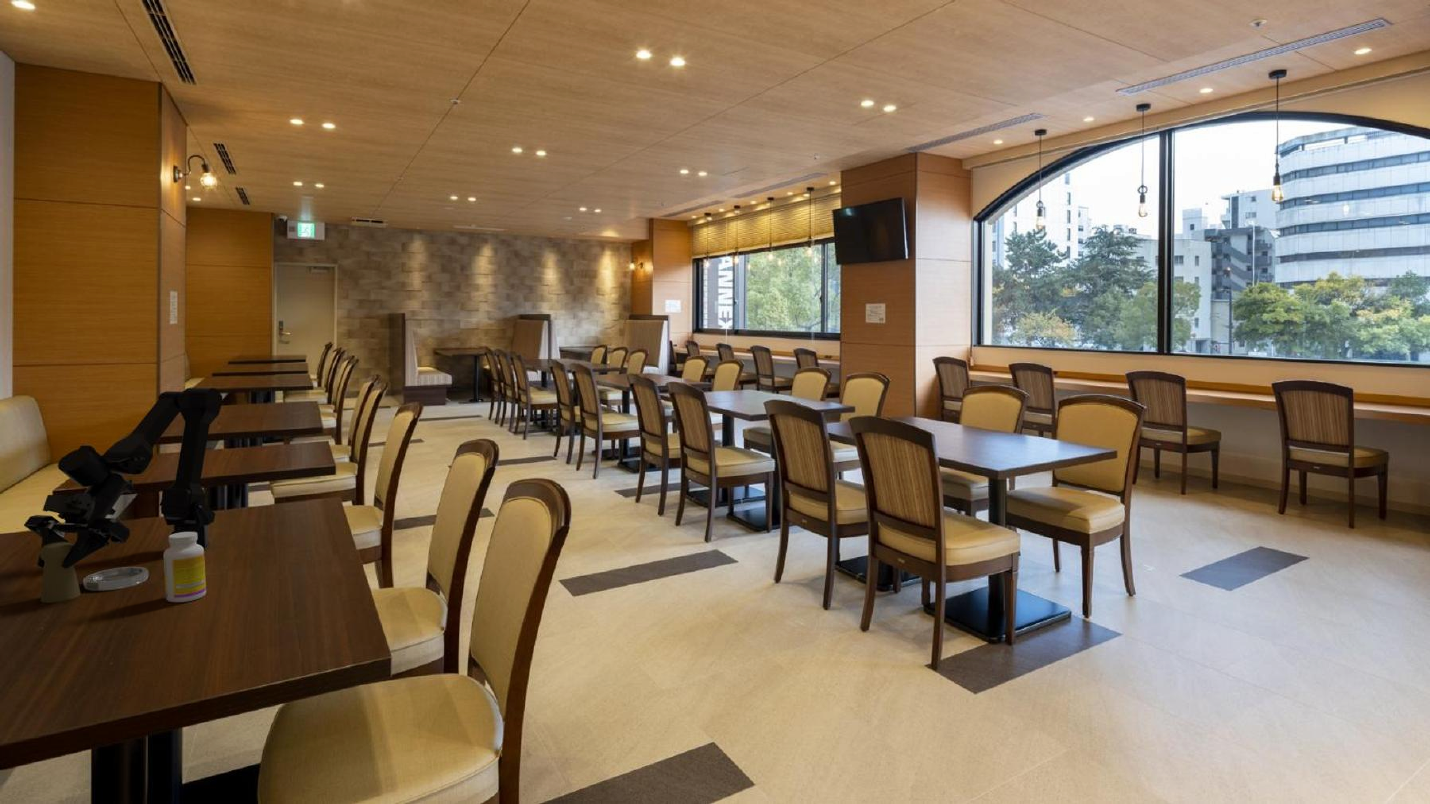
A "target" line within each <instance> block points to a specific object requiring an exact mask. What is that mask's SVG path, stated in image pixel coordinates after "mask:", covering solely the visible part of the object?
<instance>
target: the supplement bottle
mask: <svg viewBox="0 0 1430 804" xmlns="http://www.w3.org/2000/svg"><path fill="white" fill-rule="evenodd" d="M196 541H197V533H196V532H181V533H175V534H172V535H171V534H169V536H168V543H169V547H168V548H167V549H165V550H164V552H163V569H164V571H163V572H164V589H165V599H166V600H167V601H168V602H170V603H185V602H186V603H187V602H191V601H195V600H198V599H201V598H203V597H204V596H205V595H206V593H207V581H206V579H207V577H206V564H205V561H206V560H205V550H204V549H203V547H202V546H201V545H198V544H196Z"/></svg>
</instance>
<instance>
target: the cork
mask: <svg viewBox="0 0 1430 804" xmlns="http://www.w3.org/2000/svg"><path fill="white" fill-rule="evenodd" d="M73 546H74V544H73V543H72V542H70V541H69V542H55V543H50V544H47V545H45V546H43V547H42V549H41V548H40V550H41V551H39V555H40V556H41V559H42V560H44V561H45V562H44V567H43V574H42V583H41V593H40V594H41V595H40V602H41V603H44V604H45V603H49V604H51V603H61V602H65V601H66V602H67V601H69V600H73V599H75V598H78V597H80V596H81V589H80V586H79V585H80V584H79V582H78V577H77V574H76V569H75V566H74V565H75V564H74V565H72V566H71V567H69V568H67V569H65V568H63V567H62V564H63V562H64V560H65V558H66V557H67V555H68V554H69V552H70V550H71V549H72V547H73Z"/></svg>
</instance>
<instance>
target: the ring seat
mask: <svg viewBox="0 0 1430 804" xmlns="http://www.w3.org/2000/svg"><path fill="white" fill-rule="evenodd" d="M148 577H149V569H147V568H146V567H144V566H143V567H141V566H123V567H115V568H114V567H113V568H110V569H109V568H108V569H103V570H100V571H97V572H95V573H90V574H89V575H87V576H85V577H84V578H83V579H82V582H83V587H84V589H85V590H87V591H91V592H92V591H93V592H102V591H103V592H105V591H113V590H121V589H125V588H130V587H134V586H136V585H139V584H142V583H144V582H146V581H147V580H148Z"/></svg>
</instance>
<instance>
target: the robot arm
mask: <svg viewBox="0 0 1430 804" xmlns="http://www.w3.org/2000/svg"><path fill="white" fill-rule="evenodd" d="M222 405H223V395H222V393H220V391H219V390H218V389H217V388H214V387H187V388H185V389H184V390H182V391H173V390H171V391H170V390H166V391H163V392H161V393H160V394H159V395H158V399H157V401H156V403H154V405H153V406H152V407H151V408H150V410H149V411H148V412H147V413H146V415H145V416H144V417H143V418H142V419H141V420H140V422H139V423H138V424H137V425H136V427H135V428H134V430H132V432H131V433H130V434H129V435H128V436H126V437H124V438H122V439H120V440H118V441H116V442H115V443H113V444H112V445H111V447H109V448H108V449H106V451H105V452H104V453H103V454H102V455H101V454H100V453H99V452H97V451H96V449H95V448H94V447H93V446H92V445H87V444H82V445H80V446H79V448H78V449H75V450H73V451H70V452H69V453H67V454H66V455H64V456H62V457H61V458H60V460H59V461H58V463H57V468H58V470H59V471H60V472H62V474H64V475H66V476H67V477H68V478H69V479H70V480H72V482H75V483H76V484H77V485H78V486H79V487H82V488H84V487H85V488H86V487H87V488H86V490H85V491H84V492H76V493H74V495H66V494H61V495H60V494H47V496H46V499H45V501H44V505H43V507H42V512H46V513H47V512H51V513H52V512H53V513H55V514H56V513H57V517H58V518H59V519H61V520H64V522H62V521H59V520H58V518H57V519H56V518H55V517H54V516H52V515H49V514H47V515H46V514H45V515H44V514H35V515H31V516H29V517H28V519H27V520H26V521H25V522H24V524H23V527H25V528H26V529H28V530H30V531H31V532H32V533H34V534H35V535H37V536H38V537H40V538H41V539H42V540H41V547H40V551H41V549H42V547H43V546H45V545H47V544H50V543H55V542H70V541H69V540H67V539H65V538H64V537H65V536H66V535H67V534H76V535H77V536H76V537H77V538H76V541H75V543H74V544H73V545H74V546H73V547H72V549H71V550H70V552H69V554H68V555H67V557H66V558H65V560H64V562H63V564H62V567H63V568H65V569H67V568H69V567H71V566H72V565H75V564H77V563H78V562H80V561H82V560H83V559H84V558H86V557H88V556H89V555H91V554H93V553H95V552H97V551H99V550H100V549H102V548H104V547H109V545H110V542H109V540H110V541H111V543H112V544H126V542H127V541H128V539H129V538H130V536H131V533H130V532H131V531H130V528H129V527H127V526H126V525H125V524H123V523H122V522H121V521H119V520H118V519H117V518H113V517H111V518H110V517H108V516H114V515H115V513H116V511H117V510H115V509H114V508H113V507H114V506H115V505H116V503H117V502H118V500H119V499H120V498H121V496H122V495H123V493H134V492H135V491H136V490H135V486H134V485H133V480H132V479H126V478H125V477H124V476H122V475H125V476H126V475H131V476H133V475H134V476H135V475H136V476H137V475H141V474H144V472H145V471H146V470H147V468H148V467H149V464H150V463H151V461H152V459H153V457H154V447H155V445H156V443H157V442H158V441H159V440H160V439H161V437H162V436H163V435H164V433H165V432H166V431H167V429H168V428H169V427H170V425H172V423H173V421H174V420H175V419H176V417H178V415H179V414H180V416H181V417H182V419H183V421H184V426H183V433H182V440H181V446H180V450H179V456H178V457H179V458H178V464H177V468H176V474H175V480H174V483H173V484H171V486H170V487H169V488H168V487H166V488H163V490H162V492H161V500H160V503H159V504H158V505H159V507H160V513H161V514H162V515H163V518H164V521H165V523H166V525H167V526H173V530H172V532H171V534H170V535H172V534H175V533H181V532H196V533H197V541H196V544H198V545H201V546H202V547H203V549H204V551H206V549H207V548H209V546H211V543H212V542H211V541H209V528H208V527H209V525H211V524H212V523H214V522H215V516H216V513H215V512H214V510H212V509H211V508H210V507H209V506H208V505H206V496H207V495H206V493H205V490H204V489H203V487H202V485H201V479H202V473H203V467H204V461H205V457H206V456H205V455H206V450H207V444H208V443H207V442H208V436H209V430H210V426H211V424H212V423H213V422H214V421H215V420H216V418H218V416H219V415H220V411H221V408H222ZM40 551H39V552H40ZM44 562H45V561H44V560H42V559H41V556H40V554H39V556H38V559H37V562H36V563H37V566H38V567H39V568H44Z"/></svg>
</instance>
